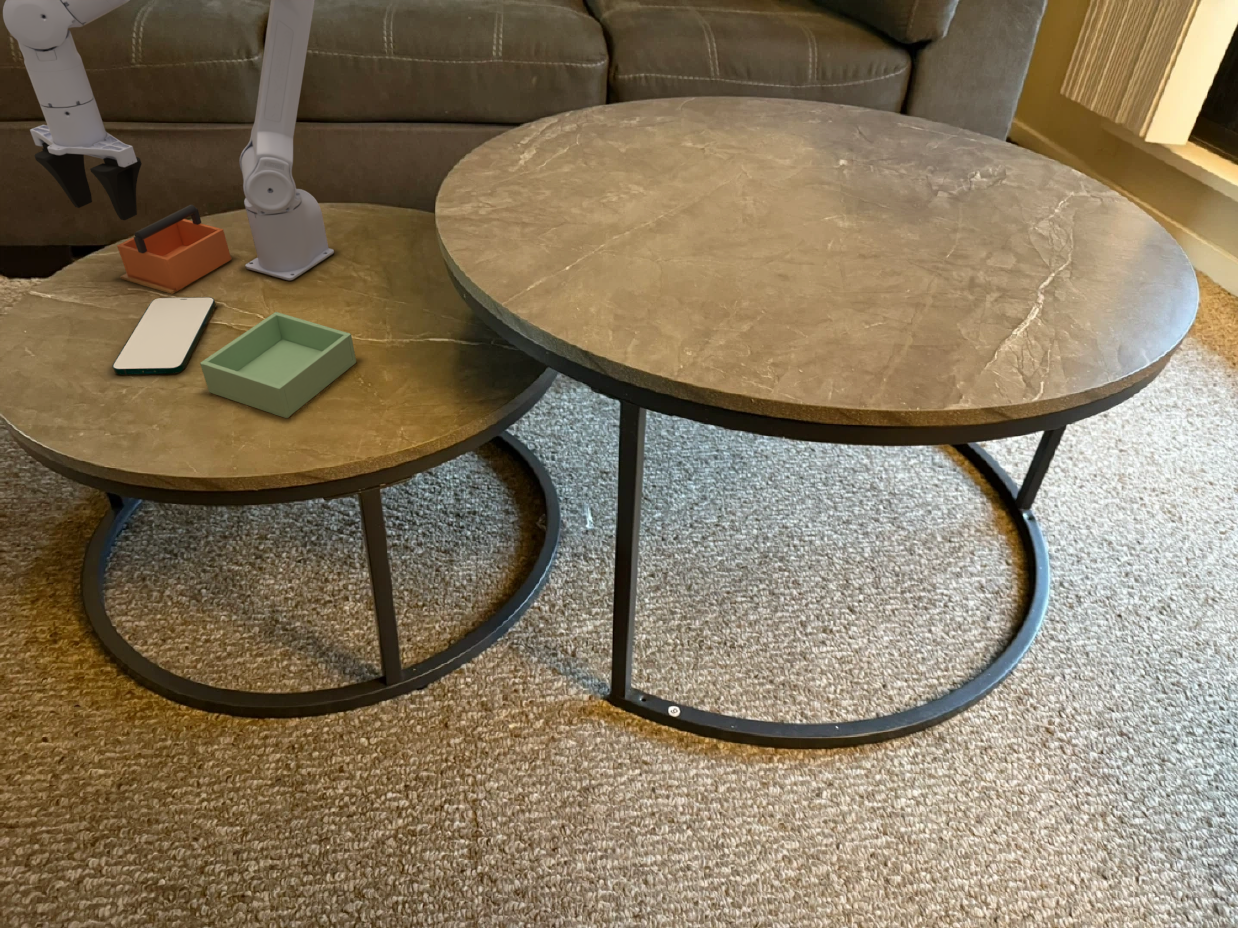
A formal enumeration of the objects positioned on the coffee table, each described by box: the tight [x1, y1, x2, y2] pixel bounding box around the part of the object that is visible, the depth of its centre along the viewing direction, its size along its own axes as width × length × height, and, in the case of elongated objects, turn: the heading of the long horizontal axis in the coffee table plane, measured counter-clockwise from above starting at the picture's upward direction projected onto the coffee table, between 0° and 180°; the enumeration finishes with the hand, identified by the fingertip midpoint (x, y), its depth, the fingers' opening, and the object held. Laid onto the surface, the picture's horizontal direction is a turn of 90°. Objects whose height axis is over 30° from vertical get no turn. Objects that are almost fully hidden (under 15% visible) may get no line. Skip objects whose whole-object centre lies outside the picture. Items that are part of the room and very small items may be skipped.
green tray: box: [199, 311, 357, 419], centre depth 104 cm, size 12×11×4 cm
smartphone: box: [112, 296, 217, 375], centre depth 111 cm, size 8×1×16 cm
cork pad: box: [120, 256, 233, 295], centre depth 124 cm, size 11×9×1 cm
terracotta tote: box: [116, 204, 232, 292], centre depth 121 cm, size 10×9×7 cm
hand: (106, 210), depth 114 cm, fingers open, 7 cm apart
